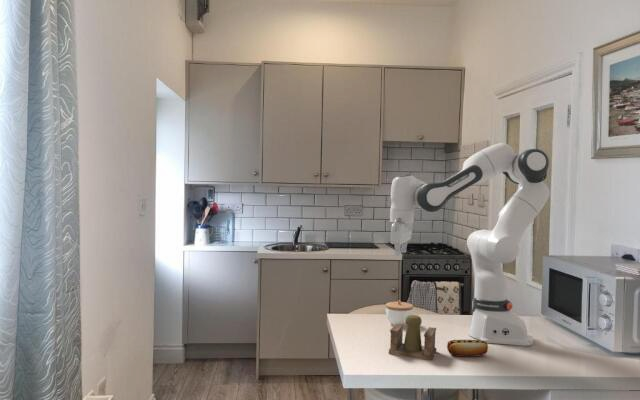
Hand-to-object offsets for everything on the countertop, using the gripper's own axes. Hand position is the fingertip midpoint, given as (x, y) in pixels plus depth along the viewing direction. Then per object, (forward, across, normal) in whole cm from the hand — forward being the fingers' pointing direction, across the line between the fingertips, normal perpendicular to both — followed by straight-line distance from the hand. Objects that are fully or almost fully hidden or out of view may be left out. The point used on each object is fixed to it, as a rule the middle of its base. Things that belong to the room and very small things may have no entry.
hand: (400, 254), depth 193 cm
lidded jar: (+29, +9, +2) cm, 31 cm away
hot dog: (+29, -18, -27) cm, 44 cm away
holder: (+29, -23, -10) cm, 38 cm away
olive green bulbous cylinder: (+28, -23, -10) cm, 38 cm away
